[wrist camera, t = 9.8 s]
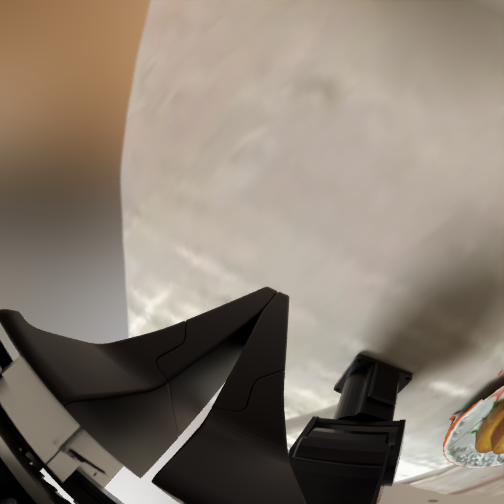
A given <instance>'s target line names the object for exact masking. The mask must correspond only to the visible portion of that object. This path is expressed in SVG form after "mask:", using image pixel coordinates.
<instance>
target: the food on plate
mask: <svg viewBox="0 0 504 504" xmlns="http://www.w3.org/2000/svg"><path fill="white" fill-rule="evenodd" d="M500 374H501V371H500V373H499V374H498V375H500ZM454 419H455V416H453V417H452V418H450V420H452V423H453V421H454ZM452 423H451V425H452V426H451V427H450V428H449V430H448V433H447V435H446V437H445V441H444V444H443V448H444V449H443V452H444V455H445V457H446V458H447V460H448V461H449V462H452V463H454V464H455V465H457V466H462V467H467V468H486V467H496V466H499V465H501V464H504V386H503V387H501V388H500V389H498V390H497V391H496V392H494V393H493V394H492V395H491V396H489V397H488V398H486V399H485V400H484V401H483V400H482V399H481V400H480V401H478V402H477V403H476V404H474V405H473V406H472V407H471V408H470V409H469V410H468V411H467V412H465V413H463V415H462V416H461V415H459V418H458V419H457V420H456V421H455V422H454V423H453V424H452Z"/></svg>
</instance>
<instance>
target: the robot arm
mask: <svg viewBox="0 0 504 504" xmlns="http://www.w3.org/2000/svg"><path fill="white" fill-rule="evenodd" d="M288 313H289V296H288V295H286V294H283V293H281V292H278V293H277V291H276V290H274V289H272V288H269V287H264V288H262V289H259V290H257V291H255V292H252V293H250V294H248V295H246V296H243V297H241V298H239V299H236V300H234V301H231V302H229V303H227V304H224V305H222V306H220V307H217V308H215V309H212V310H210V311H207V312H205V313H203V314H200V315H198V316H195V317H193V318H190V319H188V320H186V322H185V321H183V322H180V323H178V324H175V325H172V326H170V327H167V328H164V329H161V330H158V331H154V332H151V333H148V334H144V335H140V336H136V337H132V338H128V339H124V340H120V341H116V342H112V343H105V344H94V343H88V342H84V341H79V340H76V339H72V338H68V337H64V336H60V335H57V334H53V333H50V332H46V331H43V330H40V329H37V328H35V327H33V326H32V325H30V324H29V323H28V322H27V321H26V320H25V319H24V318H23V316H22V315H21V314H20V313H19V312H18V311H14V310H8V309H1V310H0V323H1V325H2V327H3V328H4V330H5V332H6V333H7V335H8V337H9V338H10V340H11V341H12V343H13V345H14V346H15V348H16V349H17V351H18V352H19V354H20V356H18V357H17V358H16V359H15V360H14V361H13V360H12V358H11V356H10V355H9V353H8V352H7V350H6V348H5V347H4V345H3V344H2V342H1V340H0V504H71V503H70V502H69V501H68V500H66V499H64V498H63V497H62V496H61V495H60V494H59V493H58V492H57V491H58V490H57V489H56V488H55V487H54V486H52V485H51V484H49V483H48V482H46V481H45V480H44V479H43V478H44V477H45V476H44V475H43V474H42V473H41V472H40V470H41V469H42V468H44V469H45V470H46V472H47V473H48V474H49V475H50V476H51V477H52V478H53V479H54V480H55V481H56V482H57V483H58V485H59V486H60V487H61V488H62V489H63V490H64V491H66V493H67V494H68V495H69V496H71V497H72V498H73V499H74V501H73V502H74V503H75V504H124V503H122V502H121V501H120V500H119V499H117V498H116V497H115V496H113V495H112V494H111V493H109V492H108V491H107V490H106V489H105V488H104V487H105V486H106V485H107V484H108V483H109V482H110V481H111V479H112V478H113V477H114V476H115V475H116V474H117V473H118V472H119V470H120V469H121V468H122V467H123V466H124V467H126V468H127V469H128V470H130V471H131V472H132V473H134V474H135V475H136V476H138V477H139V478H141V477H142V476H143V475H144V474H145V473H146V472H147V471H148V470H149V469H150V468H151V467H152V466H153V465H154V464H155V463H156V461H158V459H159V458H160V457H161V456H162V455H163V454H164V453H165V452H166V451H167V450H168V449H169V447H170V446H171V445H172V444H173V443H174V442H175V441H176V440H177V438H178V436H180V435H181V434H182V433H183V431H184V430H185V429H186V428H187V427H188V426H189V424H190V423H191V422H192V421H193V420H194V419H195V418H196V416H197V415H198V414H199V413H200V412H201V411H202V409H203V408H204V407H205V406H206V405H207V403H208V402H209V401H210V400H211V399H212V397H213V396H214V395H215V394H216V392H217V391H218V390H219V389H220V388H221V386H222V385H223V384H224V383H225V384H224V386H223V388H222V389H221V391H220V393H219V395H218V397H217V399H216V401H215V402H214V404H213V406H212V409H211V410H210V412H209V413H208V415H207V417H206V418H205V420H204V421H203V423H202V424H201V426H200V427H199V428H198V429H197V430H196V431H195V432H194V433H193V435H192V436H191V437H190V438H189V439H188V440H187V441H186V443H185V444H184V445H183V446H182V447H181V448H180V449H179V450H178V451H177V452H176V454H175V455H174V456H173V457H172V458H171V459H170V460H169V461H168V462H167V463H166V464H165V465H164V466H163V467H162V469H161V470H160V471H159V472H158V473H157V474H156V475H155V477H154V478H153V480H152V483H153V484H154V485H156V486H157V487H158V488H160V489H161V490H162V491H164V492H165V493H166V494H168V495H169V496H170V497H172V498H173V499H174V500H176V501H177V502H179V503H180V504H378V503H379V501H380V498H381V495H382V492H383V489H384V486H392V484H393V481H394V478H395V474H396V471H397V467H398V463H399V459H400V454H401V449H402V444H403V438H404V430H405V422H406V420H400V421H393V417H394V411H395V405H396V400H397V394H398V393H399V392H400V391H401V390H402V389H403V388H404V387H405V386H406V385H407V384H408V383H409V382H410V381H411V380H412V373H410V372H407V371H404V370H401V369H398V368H396V367H393V366H390V365H388V364H385V363H382V362H380V361H377V360H374V359H372V358H369V357H367V356H364V355H357V356H356V357H355V359H354V360H353V362H352V363H351V364H350V366H349V367H348V369H347V370H346V371H345V373H344V374H343V375H342V377H341V378H340V379H339V381H338V382H337V383H336V385H335V387H334V390H335V391H336V392H339V393H341V397H340V400H339V403H338V406H337V409H336V412H335V415H334V418H333V419H327V418H319V417H315V416H313V417H312V419H311V420H310V422H309V423H308V424H307V426H306V427H305V429H304V430H303V432H302V433H301V434H300V436H299V437H298V439H297V440H296V441H295V443H294V444H293V446H292V447H291V448H290V451H289V453H288V449H287V439H286V425H285V413H284V378H285V372H284V371H285V362H286V347H287V331H288ZM359 359H361V360H359ZM225 381H226V382H225Z"/></svg>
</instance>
